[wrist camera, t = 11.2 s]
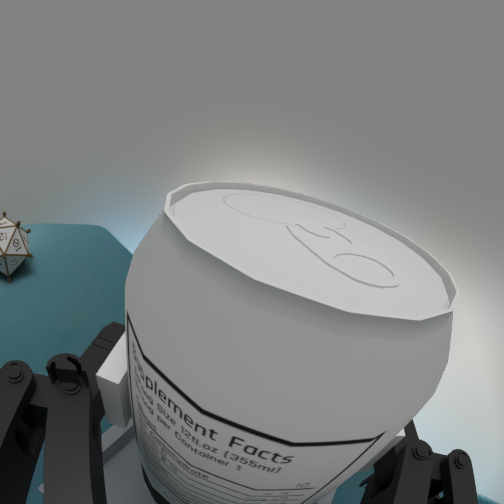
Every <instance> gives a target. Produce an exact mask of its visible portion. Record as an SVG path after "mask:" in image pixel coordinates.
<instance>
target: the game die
mask: <svg viewBox="0 0 504 504" xmlns="http://www.w3.org/2000/svg"><path fill="white" fill-rule="evenodd" d="M5 216H6V213H5V211H4V212H3V218H2V219H0V272H1V273H3V274H5V275H6V276H8V281H9V283H10V281H11V278H10V276H11V274H12V273H13V272H14V271H15V270H16V269H17V268H18V267H19V266H20V265H21V264H25V263H24V260H25V259H26V258H27V257H28V256H29V257H31V258H33V257H34V256H33V255H32V254H29V250H28V238H27V233H29V232H30V231H31V229H28V230H27V231H25V230H24V229H23V228H21V227H20V226H19V225H20V221H18V222H17V224H15V223H14V222H12V221H11V220H9V219H8V218H6V217H5Z"/></svg>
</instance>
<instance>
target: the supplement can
mask: <svg viewBox="0 0 504 504" xmlns="http://www.w3.org/2000/svg"><path fill="white" fill-rule="evenodd" d="M459 295H460V292H459V290H458V288H457V286H456V284H455V282H454V279H453V278H452V275H451V274H450V273H449V272H448V271H447V270H446V269H445V267H443V265H442V264H441V263H440V262H439V261H437V259H436V258H435V257H434V256H433V255H431V254H430V253H428V252H427V251H426V250H424V249H423V248H422V247H420V246H419V245H417V244H416V243H414V242H413V241H412V240H410V239H409V238H407V237H406V236H404V235H402V234H400V233H398V232H397V231H395V230H393V229H391V228H389V227H387V226H386V225H384V224H382V223H380V222H378V221H376V220H373V219H371V218H369V217H367V216H364V215H362V214H360V213H357V212H355V211H352V210H350V209H348V208H345V207H343V206H339V205H336V204H334V203H330V202H328V201H325V200H322V199H319V198H316V197H313V196H309V195H305V194H301V193H297V192H293V191H289V190H285V189H281V188H276V187H271V186H264V185H258V184H251V183H244V182H225V181H208V182H200V183H192V184H185V185H183V186H181V187H179V188H177V189H175V190H173V191H171V192H170V193H168V194H167V198H166V203H165V208H164V210H163V211H162V213H161V214H160V215H159V217H158V218H157V220H156V221H155V222H154V224H153V225H152V226H151V228H150V229H149V231H148V232H147V234H146V235H145V236H144V238H143V239H142V241H141V242H140V244H139V245H138V247H137V248H136V250H135V251H134V254H133V258H132V261H131V265H130V268H129V272H128V275H127V279H126V282H125V332H126V355H127V371H128V383H129V394H130V403H131V412H132V420H133V427H134V434H135V441H136V447H137V453H138V458H139V464H140V469H141V474H142V479H143V483H144V488H145V490H146V492H147V494H148V496H149V498H150V500H151V502H152V504H314V503H316V502H317V501H319V500H320V499H321V498H323V497H324V496H326V495H327V494H328V493H330V492H331V491H333V490H334V489H335V488H337V487H338V486H339V485H341V484H342V483H343V482H344V481H346V480H347V479H348V478H349V477H351V476H352V475H353V474H354V473H356V472H357V471H358V470H359V469H360V468H362V467H363V466H364V465H365V464H366V463H367V462H369V461H370V460H371V459H372V458H373V457H374V456H375V455H376V454H378V453H379V452H380V451H381V450H382V449H383V448H384V447H385V446H386V445H387V444H388V443H389V442H390V441H391V440H392V439H393V438H394V437H395V436H396V435H397V434H398V433H399V432H400V431H401V430H402V429H403V428H404V427H405V426H406V425H407V424H408V423H409V422H410V421H411V420H412V419H413V418H414V416H415V415H416V414H417V413H418V412H419V411H420V410H421V409H422V407H423V406H424V405H425V404H426V403H427V402H428V400H429V399H430V398H431V397H432V396H433V394H434V393H435V391H436V388H437V386H438V384H439V382H440V379H441V377H442V375H443V372H444V370H445V367H446V365H447V362H448V356H449V349H450V341H451V331H452V319H453V310H454V308H455V305H456V303H457V300H458V297H459Z"/></svg>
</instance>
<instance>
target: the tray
mask: <svg viewBox="0 0 504 504" xmlns="http://www.w3.org/2000/svg"><path fill="white" fill-rule="evenodd" d="M101 437H102V456H103V470H104V480H105V489H106V498H107V504H152V502H151V500H150V498H149V496H148V494H147V492H146V490H145V488H144V483H143V479H142V474H141V469H140V464H139V458H138V453H137V447H136V441H135V434H134V427H133V420H132V417H131V419H130V421H129V423H128V426H127V428H126V429H123V428H121V427H118V426H116V425H113V426H112V427H111V428H109V429H108V430H107V431H106V432H105V433H104V434H102V435H101ZM38 489H39V490H40V491H41V492H42V493H43V495H44V483H43V484H41V485H40V486H39V487H38ZM335 491H336V488H335V489H334V490H333V491H331V492H330V493H328V494H327V495H326V496H324V497H323V498H321V499H320V500H319V501H317V502H316V503H314V504H331V502H332V499H333V496H334V494H335Z"/></svg>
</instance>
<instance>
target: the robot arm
mask: <svg viewBox="0 0 504 504" xmlns="http://www.w3.org/2000/svg"><path fill="white" fill-rule="evenodd" d="M46 369H47V372H48V375H49V376H44V375H39V374H34V373H32V370H31V369H30V367H29V366H28V364H26V363H24V362H23V361H18V360H15V361H10V362H8V363H6V364H5V365H4V366H3V367H2V368H1V369H0V504H25V503H26V499H27V495H28V491H29V488H30V484H31V480H32V477H33V473H34V470H35V467H36V464H37V460H38V457H39V454H40V451H41V448H42V445H43V442H44V439H45V446H44V504H107V498H106V489H105V480H104V470H103V456H102V437H101V425H100V422H101V420H102V418H103V416H104V415H105V417H106V421H107V422H109V423H111V424H113V425H116V426H118V427H121V428H123V429H126V428H127V426H128V423H129V421H130V419H131V417H132V412H131V403H130V394H129V383H128V371H127V355H126V332H125V326H124V325H121V324H119V323H116V322H112V323H111V324H109V325H107V326H105V327H104V328H103V329H102V330H101V331H100V333H99V334H98V335H97V338H95V339H94V340H93V342H92V344H91V345H90V346H89V347H88V348H87V349H86V351H85V352H84V353H83V355H82V356H81V357H80V358H79V357H77V356H76V355H73V354H69V353H65V354H58V355H56V356H53V357H52V358H51V359H50V360H49V361H48V363H47V365H46ZM373 465H374V470H375V472H374V473H373V474H372V475H370V476H369V477H368V478H366V479H365V480H364V481H362V482H361V484H360V487H362V486H363V485H365V484H366V483H367V486H366V487H365V488H366V489H365V492H364V495H363V498H362V500H361V503H360V504H478V500H477V492H476V486H475V479H474V474H473V468H472V463H471V460H470V457H469V456H468V454H467V453H466V452H464V451H463V450H460V449H456V450H453V451H452V452H451V453H450V454H448V455H442V454H437V453H434V452H433V451H432V449H431V447H430V446H429V445H428V444H427V443H426V442H425V441H422V440H419V438H418V435H417V432H416V428H415V426H414V422H413V419H412V420H411V421H410V422H409V423H408V424H407V425H406V426H405V427H404V428H403V429H402V430H401V431H400V432H399V433H398V434H397V435H396V436H395V437H394V438H393V439H392V440H391V441H390V442H389V443H388V444H387V445H386V446H385V447H384V448H383V449H382V450H381V451H380V452H379V453H378V454H376V455H375V456H374V457H373V458H372V459H371V460H370V461H369V462H367V463H366V464H365V465H364V466H363V467H362V468H360V469H359V470H358V471H357V472H366V471H367V470H368V469H369V468H370V467H372V466H373ZM442 491H443V495H444V497H442V498H440V497H439V493H440V492H442Z"/></svg>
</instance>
